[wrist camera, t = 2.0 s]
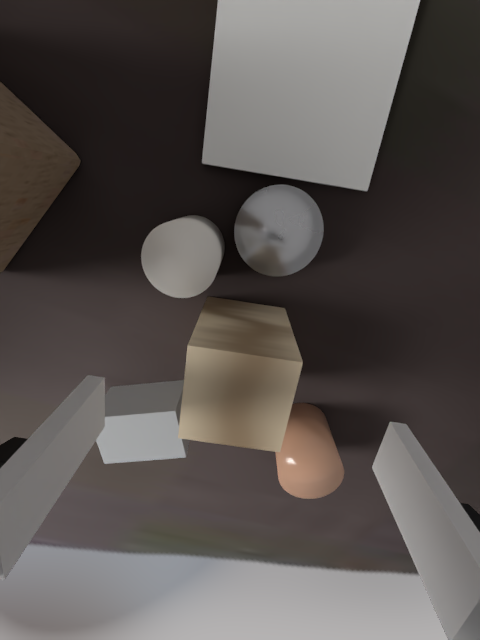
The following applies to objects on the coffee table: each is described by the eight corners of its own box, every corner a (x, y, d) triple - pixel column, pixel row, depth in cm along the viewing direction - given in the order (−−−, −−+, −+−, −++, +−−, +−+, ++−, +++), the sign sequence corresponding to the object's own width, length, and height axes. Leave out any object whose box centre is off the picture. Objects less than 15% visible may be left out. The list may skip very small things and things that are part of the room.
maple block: (199, 364, 24) (177, 438, 17) (207, 296, 22) (187, 345, 15) (270, 375, 25) (279, 452, 17) (284, 308, 23) (303, 362, 15)
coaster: (203, 164, 19) (201, 163, 19) (225, -58, 16) (224, -67, 15) (364, 191, 20) (367, 191, 19) (421, -20, 16) (428, -28, 16)
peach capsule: (268, 442, 27) (272, 494, 22) (278, 399, 25) (285, 444, 21) (319, 449, 27) (334, 502, 22) (332, 407, 26) (351, 454, 21)
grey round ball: (230, 259, 22) (228, 269, 19) (242, 179, 20) (241, 177, 17) (303, 271, 22) (311, 282, 19) (321, 193, 20) (333, 192, 17)
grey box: (124, 426, 27) (104, 463, 23) (111, 385, 25) (88, 418, 22) (194, 420, 26) (186, 457, 23) (185, 378, 25) (175, 410, 21)
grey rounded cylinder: (162, 271, 22) (139, 291, 17) (166, 210, 20) (142, 214, 16) (220, 280, 22) (213, 303, 17) (228, 220, 21) (223, 227, 16)
